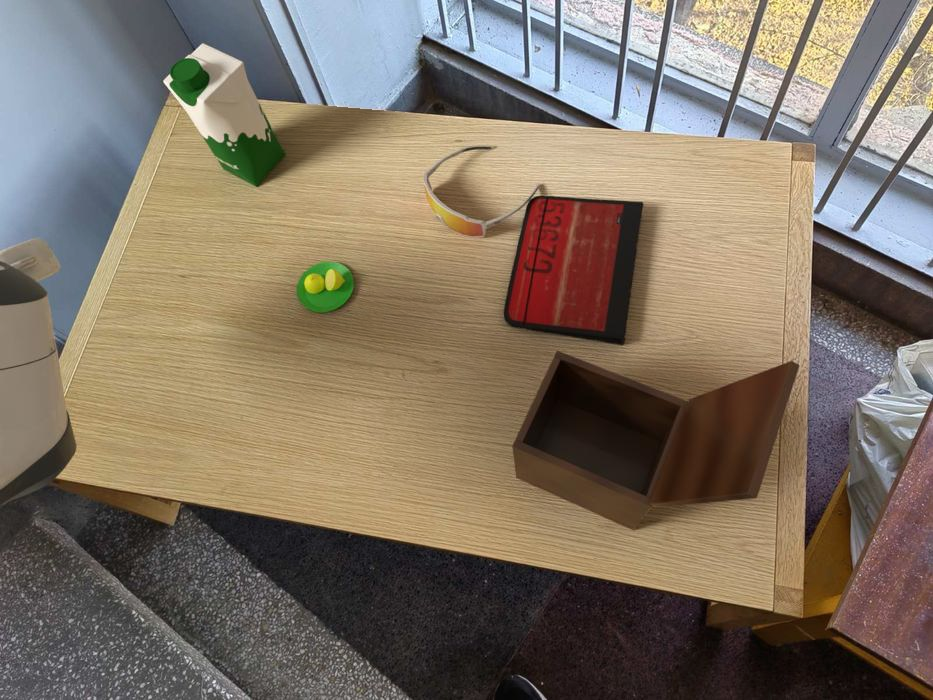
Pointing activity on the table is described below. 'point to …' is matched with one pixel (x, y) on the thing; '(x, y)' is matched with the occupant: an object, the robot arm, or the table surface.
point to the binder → (574, 268)
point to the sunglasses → (455, 219)
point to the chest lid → (726, 440)
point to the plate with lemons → (325, 286)
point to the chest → (597, 439)
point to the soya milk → (226, 112)
